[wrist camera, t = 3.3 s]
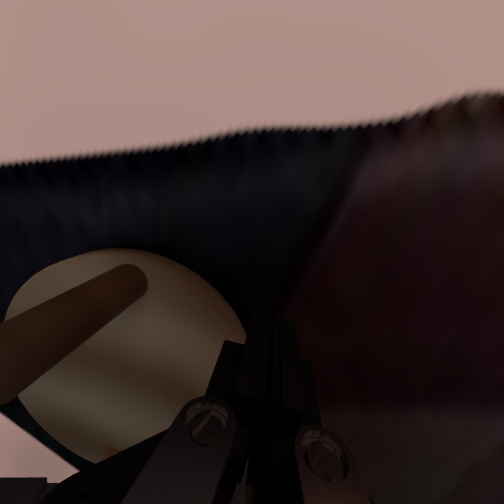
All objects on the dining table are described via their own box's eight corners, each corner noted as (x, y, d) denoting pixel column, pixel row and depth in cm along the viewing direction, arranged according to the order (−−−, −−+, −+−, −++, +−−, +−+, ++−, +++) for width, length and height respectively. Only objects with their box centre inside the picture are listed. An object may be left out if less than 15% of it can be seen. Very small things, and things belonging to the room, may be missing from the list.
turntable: (228, 474, 16) (187, 702, 9) (32, 418, 17) (-150, 589, 10) (279, 283, 12) (278, 417, 5) (23, 221, 13) (-287, 263, 6)
